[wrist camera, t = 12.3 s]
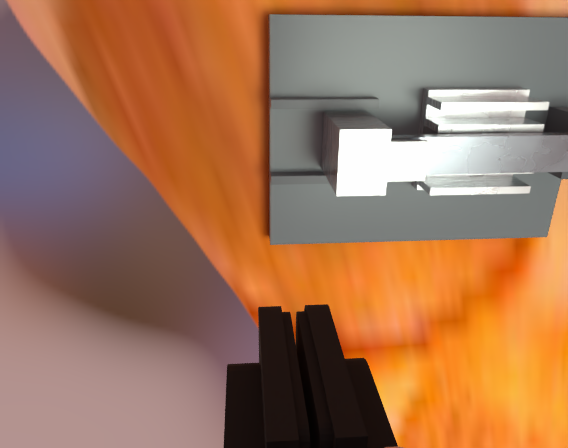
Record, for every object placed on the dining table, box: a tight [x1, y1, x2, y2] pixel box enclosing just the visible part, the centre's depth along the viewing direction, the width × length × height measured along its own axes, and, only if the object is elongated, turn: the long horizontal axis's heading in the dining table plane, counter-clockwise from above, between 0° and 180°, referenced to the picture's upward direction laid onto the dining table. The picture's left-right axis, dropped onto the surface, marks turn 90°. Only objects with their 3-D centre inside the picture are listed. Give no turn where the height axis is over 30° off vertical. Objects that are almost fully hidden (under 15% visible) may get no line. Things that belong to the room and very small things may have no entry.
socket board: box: [269, 14, 568, 245], centre depth 34 cm, size 22×16×4 cm
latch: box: [321, 111, 430, 196], centre depth 31 cm, size 5×4×6 cm
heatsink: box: [412, 88, 549, 195], centre depth 33 cm, size 7×7×3 cm
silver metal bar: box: [391, 132, 568, 175], centre depth 31 cm, size 15×3×2 cm, turn 90°
